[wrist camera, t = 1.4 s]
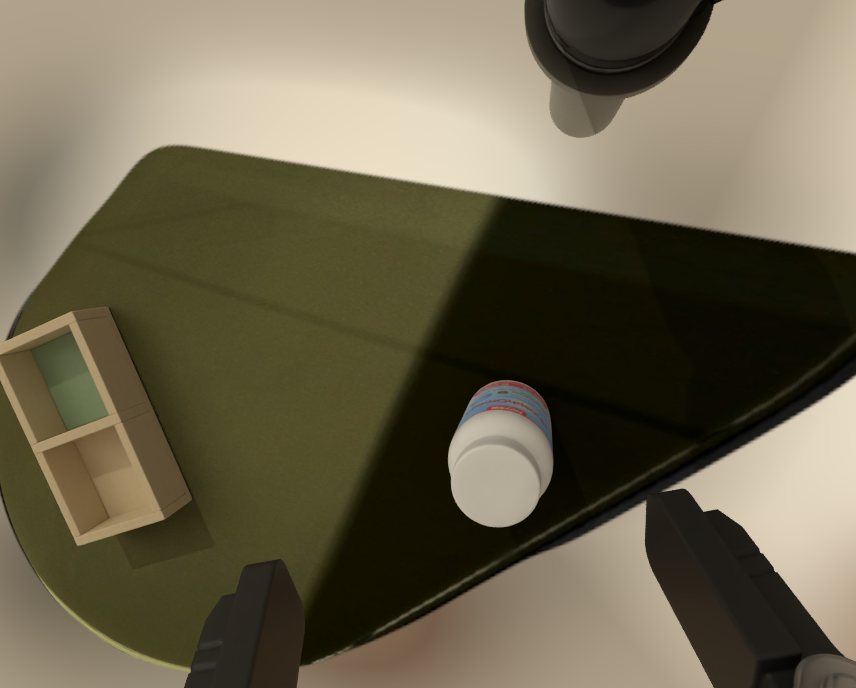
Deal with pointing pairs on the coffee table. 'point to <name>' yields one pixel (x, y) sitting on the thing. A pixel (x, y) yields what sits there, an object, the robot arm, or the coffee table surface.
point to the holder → (91, 425)
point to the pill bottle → (501, 454)
